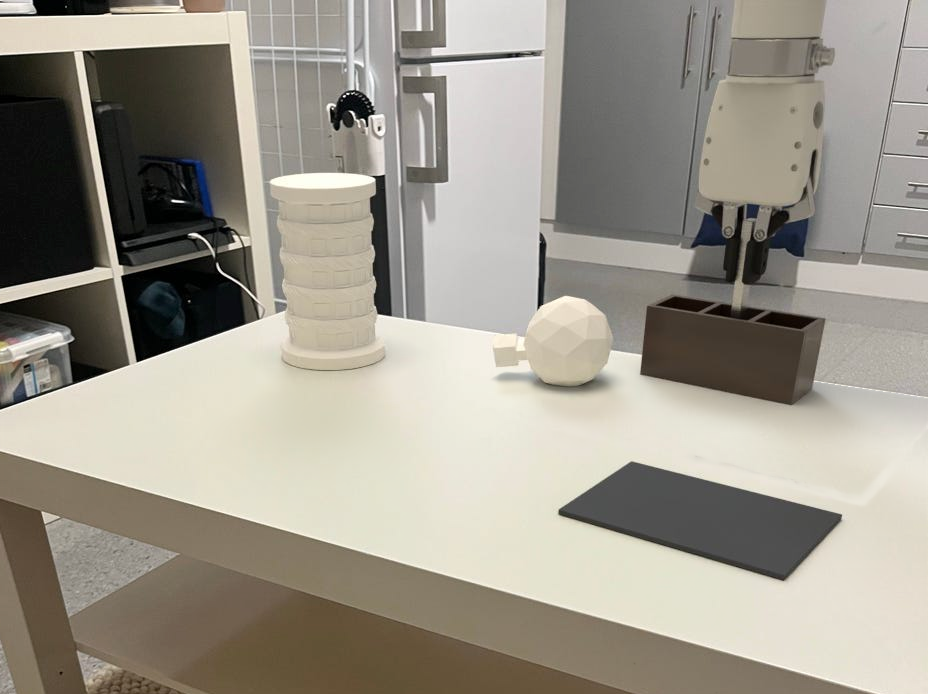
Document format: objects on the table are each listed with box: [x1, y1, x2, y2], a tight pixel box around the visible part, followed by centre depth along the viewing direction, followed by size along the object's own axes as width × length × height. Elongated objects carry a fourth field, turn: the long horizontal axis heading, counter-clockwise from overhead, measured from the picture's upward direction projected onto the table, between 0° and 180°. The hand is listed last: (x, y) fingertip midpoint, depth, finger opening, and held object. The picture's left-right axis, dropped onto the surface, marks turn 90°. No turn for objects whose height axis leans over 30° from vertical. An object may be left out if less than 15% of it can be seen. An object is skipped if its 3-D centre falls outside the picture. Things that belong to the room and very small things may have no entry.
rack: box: [639, 293, 826, 406], centre depth 102 cm, size 6×16×8 cm, turn 54°
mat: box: [557, 460, 843, 581], centre depth 78 cm, size 18×12×1 cm, turn 54°
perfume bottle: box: [492, 295, 614, 387], centre depth 103 cm, size 9×9×12 cm
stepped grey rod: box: [730, 217, 757, 320], centre depth 99 cm, size 1×3×14 cm, turn 144°
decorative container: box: [269, 172, 386, 371], centre depth 109 cm, size 12×12×18 cm
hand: (742, 279), depth 98 cm, fingers closed on stepped grey rod, 1 cm apart
